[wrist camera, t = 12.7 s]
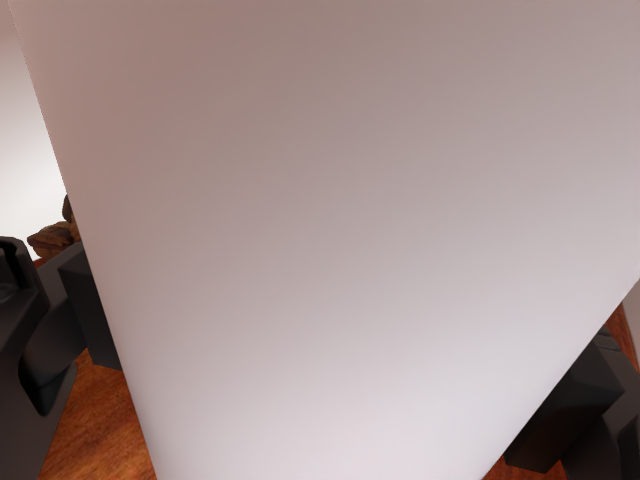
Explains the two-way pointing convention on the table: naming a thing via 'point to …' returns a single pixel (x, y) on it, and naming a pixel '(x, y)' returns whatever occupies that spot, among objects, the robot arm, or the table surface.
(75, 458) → the table surface
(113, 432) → the table surface
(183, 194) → the cup
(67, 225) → the wooden carving
